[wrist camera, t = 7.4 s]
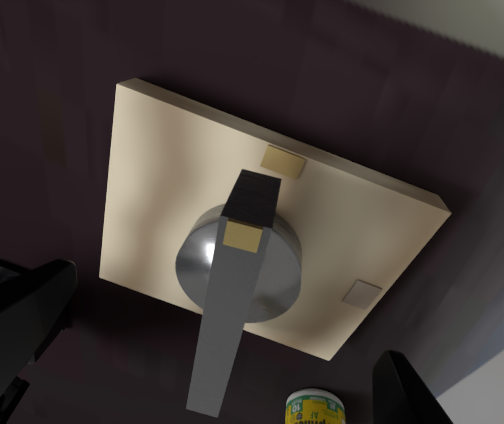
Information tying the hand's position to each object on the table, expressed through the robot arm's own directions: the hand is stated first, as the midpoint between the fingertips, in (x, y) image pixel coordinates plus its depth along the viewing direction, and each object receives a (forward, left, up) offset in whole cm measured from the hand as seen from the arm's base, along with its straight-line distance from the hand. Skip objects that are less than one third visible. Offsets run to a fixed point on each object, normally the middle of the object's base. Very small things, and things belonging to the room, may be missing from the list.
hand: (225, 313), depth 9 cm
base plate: (0, -5, -11) cm, 12 cm away
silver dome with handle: (0, -5, -9) cm, 11 cm away
